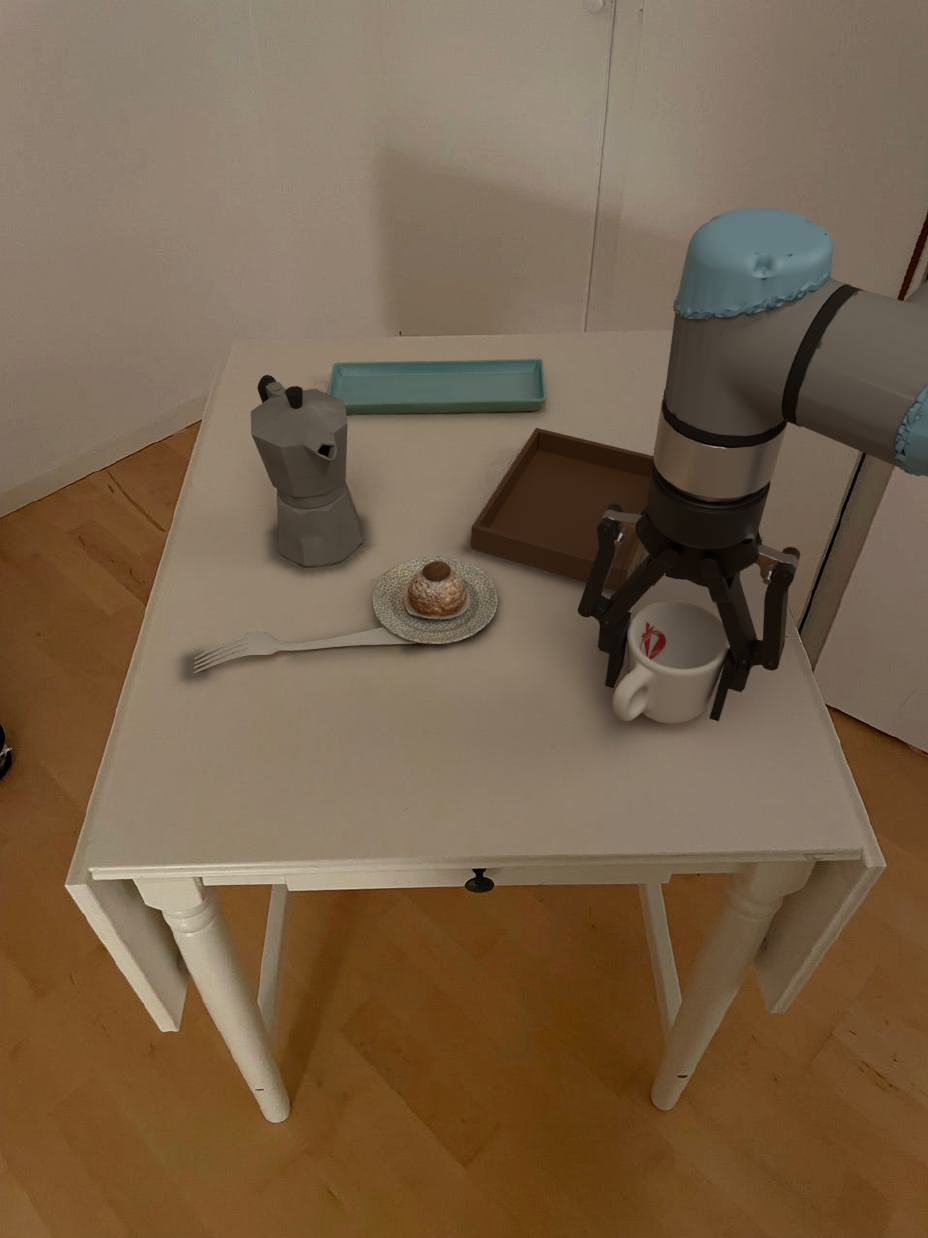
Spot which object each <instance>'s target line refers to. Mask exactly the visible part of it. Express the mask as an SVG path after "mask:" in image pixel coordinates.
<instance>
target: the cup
mask: <svg viewBox="0 0 928 1238" xmlns="http://www.w3.org/2000/svg"><path fill="white" fill-rule="evenodd" d="M729 648H730V645H729V642H728V639H727V636H726V633H725V630H724V627H723V623H722V620H721V617H720V616H718V615H717V614H716V613H715V612H713V611H712V610H710V609H708V608H707V607H705V606H703V605H701V604H698V603H696V602H691V601H687V600H679V599H669V600H666V599H665V600H660V601H657V602H653V603H651V604H648V605H646V606H644V607H643V608H641V609H640V610H638V611H637V612H636V613H635V614H634V615H633V617H631V619H630V623H629V626H628V630H627V645H626V652H627V674H626V675H625V676H624V677H623V678H622V679H621V681H620V682H619V683H618V685H616V688H615V690H614V693H613V697H612V711H613V713H614V715H615V716H617V717H618V718H619V719H620V720H622V721H624V722H630V721H632V720H634V719H636V718H637V717H639V715H641V714H643V715H644V716H645V717H647V718H649V719H651V720H653V721H655V722H658V723H662V724H671V725H674V724H675V725H676V724H683V723H686V722H689V721H691V720H693V719H695V718H697V717H698V716H699V715H701V713H702V712H703V711H705V709H706V708H707V705H709V703H710V700H711V698H712V696H713V694H714V691H715V688H716V686H717V683H718V682H719V681H718V680H719V679H720V677H721V674H722V670H723V667H724V663H725V660H726V657H727V654H728V651H729Z"/></svg>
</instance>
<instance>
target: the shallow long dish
mask: <svg viewBox="0 0 928 1238" xmlns="http://www.w3.org/2000/svg"><path fill="white" fill-rule="evenodd" d="M544 370H545V368H544V360H543V359H542V358H519V359H518V358H517V359H516V358H515V359H513V358H511V359H478V360H475V359H470V360H469V359H468V360H467V359H466V360H418V361H417V360H413V361H412V360H409V361H407V360H406V361H403V360H401V361H354V362H353V361H352V362H336V363H333V365H332V369H331V375H330V380H329V384H328V389H327V394H329V395H331V396H334V397H336V398H339V399H341V400H343V401H344V403H345V409H346V415H383V414H384V415H387V414H389V415H391V414H393V415H395V414H396V415H397V414H403V415H404V414H452V413H492V412H494V413H495V412H496V413H497V412H532V411H533V412H535V411H538V410H539V409H541V406H542V405H543V404H544V402H545V401H546V400H547V391H546V384H545V371H544Z"/></svg>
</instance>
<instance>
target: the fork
mask: <svg viewBox="0 0 928 1238" xmlns="http://www.w3.org/2000/svg"><path fill="white" fill-rule="evenodd" d="M417 643H418V644H419V642H414V641H413V642H409V641H407V640H406V639H405V638H402V637H400V636H398V635H396V634H394V633H392V632H391V631H389V630H388V629H386V628H385V627H384V626H382V627H377V628H374V629H368V630H365V631H360V632H355V633H351V634H345V635H341V636H337V637H331V638H325V639H319V640H313V641H312V640H311V641H305V642H292V643H290V642H284V641H280V640H279V639H277V638H275V637H274V636H273V634H271V633H269V632H267V631H266V632H265V631H251V632H246V633H243V634H239V635H237V636H234V637H232V638H229V639H228V640H225V641H223V642H222V643H219V644H217V645H216V646H214V647H211V648H209V649H208V650H206V651H204V652H202V653H201V654H199V655H197V656H195V657H194V660H197V659H198V660H197V661H195V662H193V663H194V664H193V665H195V666H194V667H193V669H196V670H195V671H193V674H196V673H199V672H202V671H204V670H206V669H209V668H211V667H214V666H217V665H219V664H222V663H225V662H227V661H231V660H233V659H237V658H241V657H244V656H245V657H246V656H269V655H270V656H271V655H273V654H274V653H275V652H280V651H306V650H315V649H327V648H337V647H353V646H375V645H376V646H379V645H413V644H417ZM196 664H197V665H196ZM206 664H207V665H206ZM204 665H205V666H204ZM201 666H202V667H201ZM200 667H201V668H200ZM197 668H199V669H197Z"/></svg>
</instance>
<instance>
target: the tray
mask: <svg viewBox="0 0 928 1238" xmlns="http://www.w3.org/2000/svg"><path fill="white" fill-rule="evenodd" d="M653 463H654V455H651V454H647V453H642V452H639V451H636V450H635V451H634V450H630V449H626V448H621V447H618V446H613V445H609V444H605V443H601V442H596V441H593V440H589V439H584V438H580V437H576V436H571V435H568V434H564V433H558V432H555V431H551V430H547V429H543V428H539V427H535V428H534V430H533V432H532V433H531V435H530V436H529V438H528V439H527V441H526V442H525V444H524V445H523V446H522V449H521V450H520V451H519V453H518V455H517V456H516V458H515V459H514V461H513V463H512V464H511V466H510V467H509V468H508V470H507V472H506V473H505V475H504V476H503V478H502V480H501V481H500V483H499V484H498V486H497V487H496V489H495V490H494V492H493V493H492V495H491V496H490V497H489V500H488V501H487V502H486V504H485V506H484V507H483V509H482V510H481V512H480V514H479V515H478V516H477V518H476V520H475V521H474V523H473V524H472V526H471V550H475V551H477V552H481V553H484V554H487V555H491V556H495V557H499V558H502V559H506V560H509V561H512V562H515V563H519V564H523V565H527V566H530V567H533V568H536V569H540V570H542V571H543V570H544V571H548V572H551V573H554V574H557V575H561V576H564V577H568V578H572V579H574V580H575V579H576V580H577V581H581V582H585V583H587V581H588V578H589V575H590V572H591V569H592V566H593V564H594V561H595V558H596V555H597V552H598V549H599V544H598V536H597V526H598V524H599V523H600V521H601V519H602V517H603V515H604V513H605V511H606V509H607V507H608V506H609V505H610V504H613V503H615V504H618V505H620V506H621V507H622V508H623V513H631V514H641V512H642V511H643V510H644V509H645V508H646V503H647V496H648V490H649V483H650V477H651V470H652V465H653ZM644 550H645V547H644V545H643V544H642V542H641V541H640V539H639V538H638V536H637V534H636V533H633V534H631V535H630V537H629V539H628V541H627V542H625V543H622V544H621V545H620V547H619V550H618V552H617V555H616V558H615V560H614V563H613V566H612V568H611V571H610V574H609V576H608V579H607V582H606V584H605V587H604V588H605V589H606V588H607V589H610V590H613V591H615V592H616V591H617V590H618V589H619V588H620V587H621V585H622V584H623V583H624V582H625V581H626V580H627V579H628V577H629V576H630V575H631V574H632V573H633V572H634V570H635V569H636V568H637V565H638V564H639V561H640V558H641V557H642V554H643V552H644Z"/></svg>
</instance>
